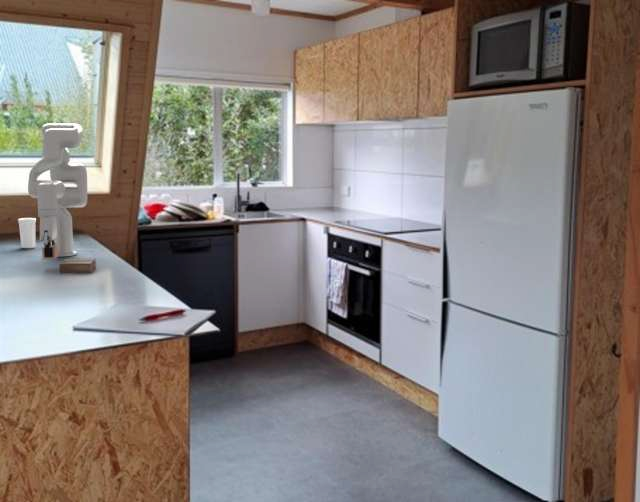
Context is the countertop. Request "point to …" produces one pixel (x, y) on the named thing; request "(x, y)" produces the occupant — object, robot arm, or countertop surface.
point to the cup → (27, 232)
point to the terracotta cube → (55, 252)
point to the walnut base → (78, 265)
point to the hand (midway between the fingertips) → (50, 255)
